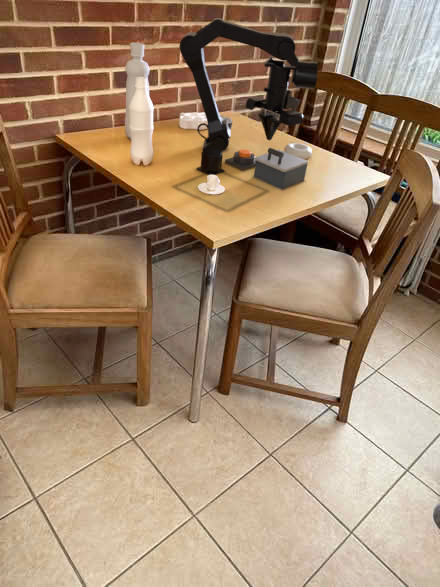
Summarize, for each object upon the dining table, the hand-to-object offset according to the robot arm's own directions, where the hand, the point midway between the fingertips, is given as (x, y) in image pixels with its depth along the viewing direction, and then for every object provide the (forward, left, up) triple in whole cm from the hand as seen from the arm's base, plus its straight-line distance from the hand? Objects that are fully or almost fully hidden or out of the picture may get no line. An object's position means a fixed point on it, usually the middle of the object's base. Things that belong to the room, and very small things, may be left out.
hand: (269, 139), depth 138 cm
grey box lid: (+3, -4, -6) cm, 8 cm away
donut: (+26, +5, -12) cm, 29 cm away
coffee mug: (+5, +27, -12) cm, 30 cm away
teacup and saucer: (-18, +2, -12) cm, 22 cm away
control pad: (+3, +11, -12) cm, 16 cm away
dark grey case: (+3, -4, -12) cm, 13 cm away
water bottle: (-25, +30, -12) cm, 41 cm away
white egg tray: (+19, +48, -12) cm, 53 cm away
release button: (+3, +11, -9) cm, 15 cm away
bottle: (-12, +48, -12) cm, 51 cm away
